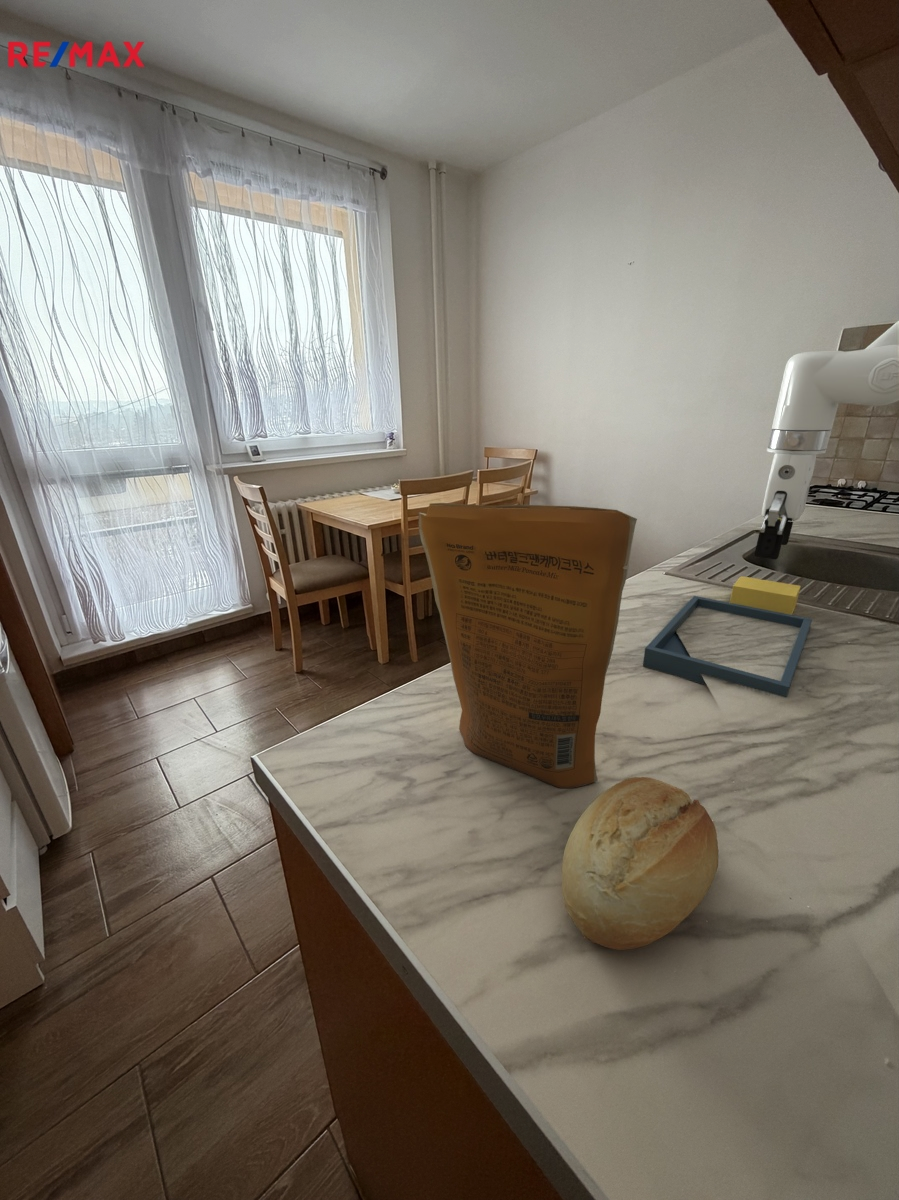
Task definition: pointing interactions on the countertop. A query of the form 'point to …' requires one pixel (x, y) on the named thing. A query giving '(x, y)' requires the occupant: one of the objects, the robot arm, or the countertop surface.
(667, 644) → the tray
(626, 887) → the bread roll
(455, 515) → the pancake mix bag
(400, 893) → the countertop surface
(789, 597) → the sponge
